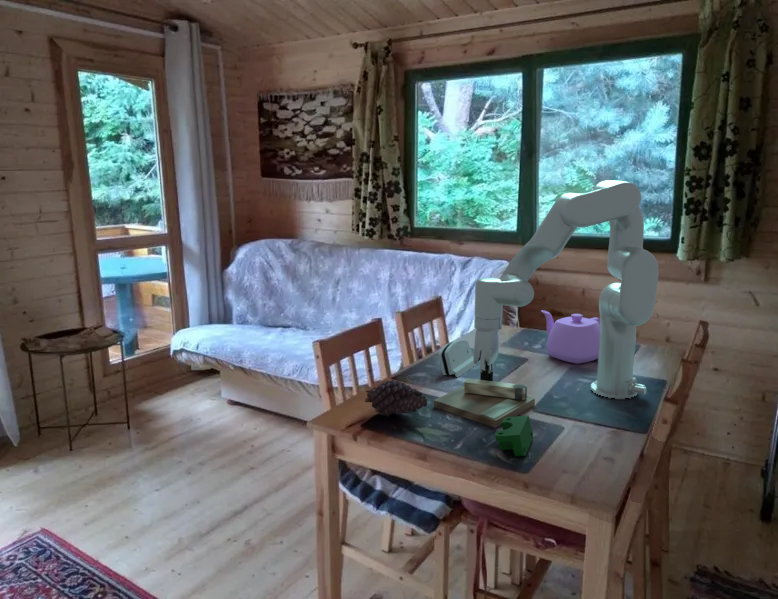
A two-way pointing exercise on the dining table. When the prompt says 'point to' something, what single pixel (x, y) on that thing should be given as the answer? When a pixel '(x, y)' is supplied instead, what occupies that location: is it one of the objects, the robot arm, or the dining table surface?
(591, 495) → the dining table surface
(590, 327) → the teapot
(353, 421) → the dining table surface
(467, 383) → the folding leg
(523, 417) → the clamp
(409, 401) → the pine cone
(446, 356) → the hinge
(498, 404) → the stool seat
